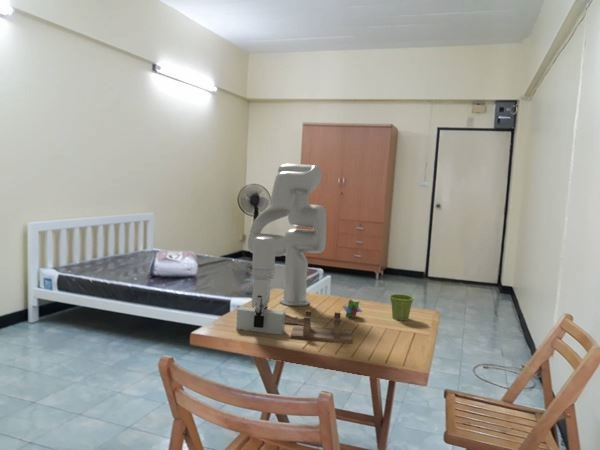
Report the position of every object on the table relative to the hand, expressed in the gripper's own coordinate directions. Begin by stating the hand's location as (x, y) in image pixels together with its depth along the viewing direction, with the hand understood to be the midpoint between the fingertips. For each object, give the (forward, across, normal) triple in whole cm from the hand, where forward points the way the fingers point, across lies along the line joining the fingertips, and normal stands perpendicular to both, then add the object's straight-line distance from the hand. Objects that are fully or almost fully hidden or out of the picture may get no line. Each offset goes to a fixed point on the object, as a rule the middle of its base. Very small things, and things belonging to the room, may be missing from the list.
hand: (260, 323), depth 163 cm
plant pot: (+2, -28, +51) cm, 58 cm away
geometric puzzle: (+2, -25, +32) cm, 41 cm away
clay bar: (+2, 0, 0) cm, 2 cm away
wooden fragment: (+3, -15, +5) cm, 16 cm away
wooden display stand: (+2, +1, +21) cm, 21 cm away
